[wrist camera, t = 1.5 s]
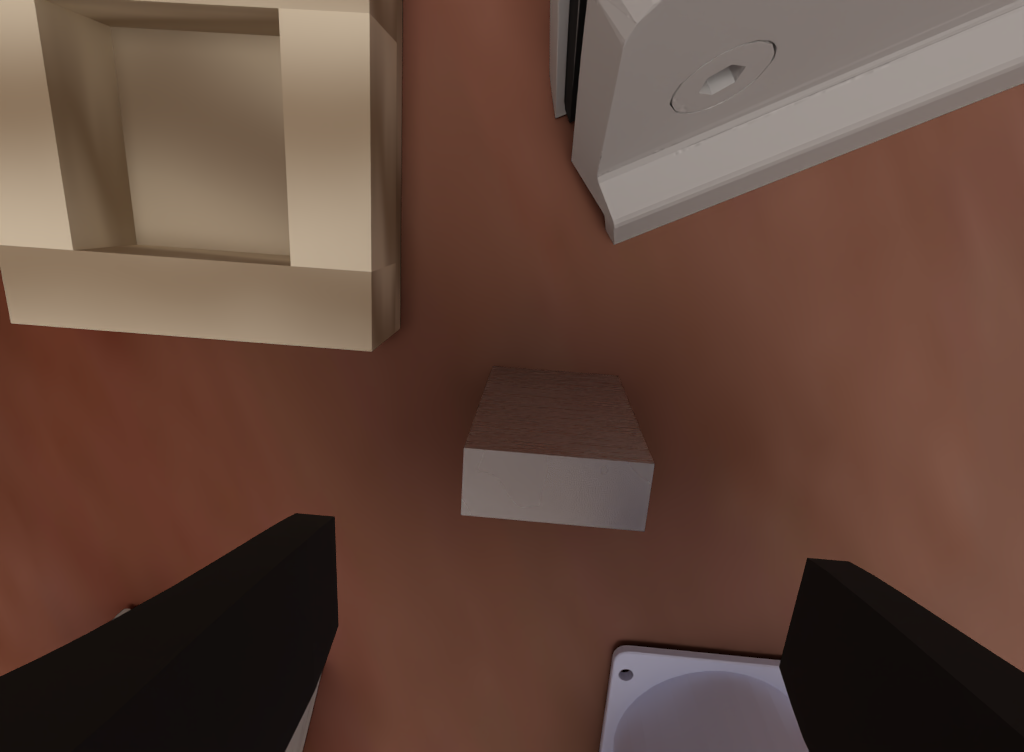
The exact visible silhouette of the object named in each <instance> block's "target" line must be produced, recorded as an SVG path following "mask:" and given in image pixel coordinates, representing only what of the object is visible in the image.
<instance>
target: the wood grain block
mask: <svg viewBox="0 0 1024 752" xmlns="http://www.w3.org/2000/svg"><path fill="white" fill-rule="evenodd" d="M653 471H654V462H653V459H652V457H651V454H650V452H649V449H648V447H647V445H646V442H645V440H644V437H643V435H642V433H641V430H640V428H639V425H638V423H637V420H636V418H635V416H634V413H633V411H632V408H631V406H630V403H629V401H628V399H627V396H626V394H625V391H624V389H623V386H622V384H621V382H620V379H619V377H618V376H615V375H602V374H589V373H576V372H564V371H551V370H538V369H526V368H513V367H500V366H493V367H492V370H491V372H490V375H489V378H488V381H487V384H486V387H485V389H484V392H483V395H482V398H481V401H480V404H479V406H478V409H477V412H476V415H475V418H474V421H473V423H472V426H471V429H470V432H469V435H468V438H467V440H466V443H465V446H464V456H463V479H462V502H461V515H467V516H478V517H489V518H500V519H511V520H522V521H534V522H545V523H556V524H567V525H578V526H589V527H600V528H611V529H623V530H634V531H645V524H646V518H647V511H648V504H649V498H650V491H651V484H652V478H653Z"/></svg>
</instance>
